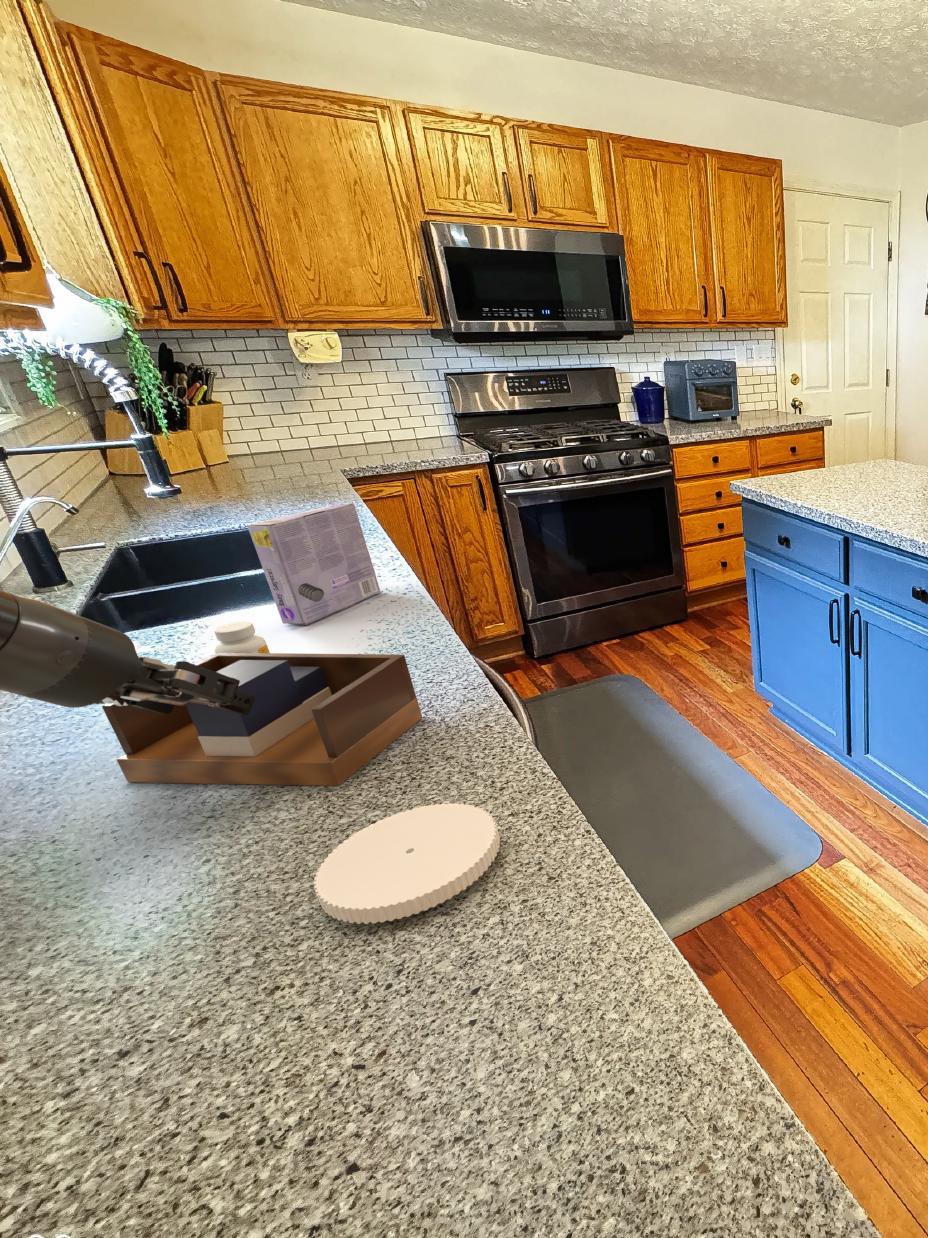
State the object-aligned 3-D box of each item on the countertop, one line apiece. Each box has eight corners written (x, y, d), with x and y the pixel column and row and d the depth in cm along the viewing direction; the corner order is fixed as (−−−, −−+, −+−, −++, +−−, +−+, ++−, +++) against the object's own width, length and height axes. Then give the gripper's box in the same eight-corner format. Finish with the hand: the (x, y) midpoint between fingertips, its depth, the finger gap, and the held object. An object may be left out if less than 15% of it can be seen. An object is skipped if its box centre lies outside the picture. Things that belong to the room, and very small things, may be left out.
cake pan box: (363, 590, 136) (336, 500, 129) (387, 590, 136) (361, 500, 129) (279, 626, 119) (242, 524, 112) (306, 627, 118) (271, 525, 111)
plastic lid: (512, 890, 61) (506, 867, 60) (317, 959, 54) (306, 935, 53) (492, 807, 72) (487, 787, 71) (328, 856, 65) (319, 835, 64)
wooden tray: (127, 782, 76) (91, 710, 73) (242, 715, 90) (217, 652, 87) (338, 786, 76) (312, 713, 72) (422, 717, 89) (404, 654, 86)
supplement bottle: (248, 702, 94) (221, 636, 90) (223, 695, 95) (196, 631, 92) (290, 685, 98) (267, 622, 94) (266, 679, 100) (242, 617, 96)
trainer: (255, 756, 76) (228, 691, 72) (205, 756, 76) (177, 690, 73) (335, 704, 87) (315, 645, 83) (291, 703, 87) (269, 645, 84)
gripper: (137, 610, 59) (286, 672, 75) (-22, 609, 60) (159, 671, 75) (100, 693, 57) (263, 741, 72) (-66, 692, 57) (130, 739, 72)
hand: (210, 705), depth 73 cm, fingers open, 8 cm apart
